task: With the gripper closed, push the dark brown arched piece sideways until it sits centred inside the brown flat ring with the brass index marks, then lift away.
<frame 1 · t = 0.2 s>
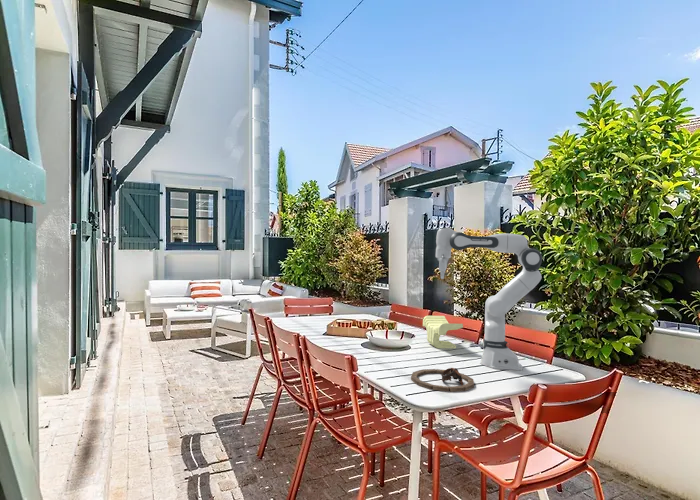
hand: (442, 278, 245), 48 cm above the table, tool pointing down, fingers open, 8 cm apart
ribbed pale green clamp: (440, 346, 280), on the table
brown flat ring: (442, 379, 203), point 1 cm above the table, hinge at 0.0°
dark brown arched piece: (452, 383, 202), on the table
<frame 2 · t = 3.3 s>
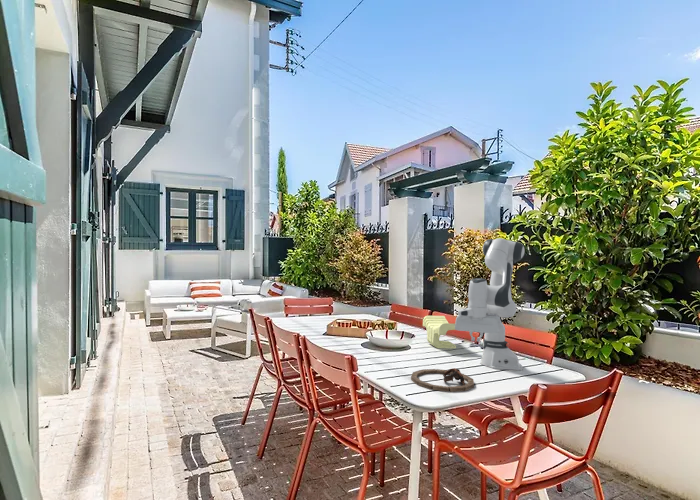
hand: (475, 341, 199), 21 cm above the table, tool pointing down, fingers closed
dark brown arched piece: (454, 383, 201), on the table
everything else where it was.
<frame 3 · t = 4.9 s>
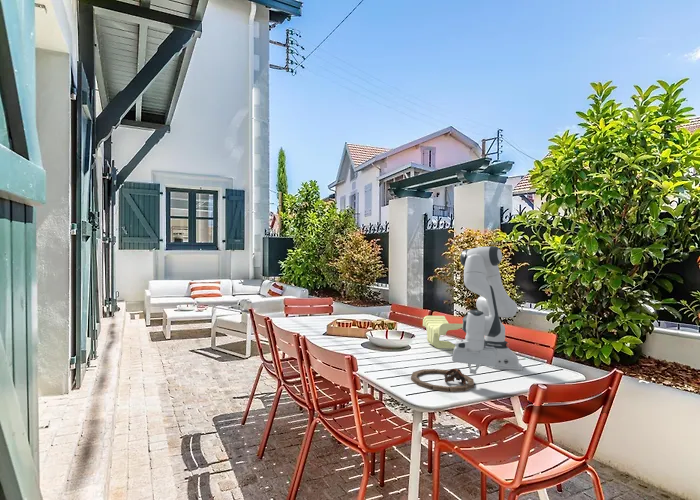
hand: (473, 373, 199), 6 cm above the table, tool pointing down, fingers closed
nothing on the table moved.
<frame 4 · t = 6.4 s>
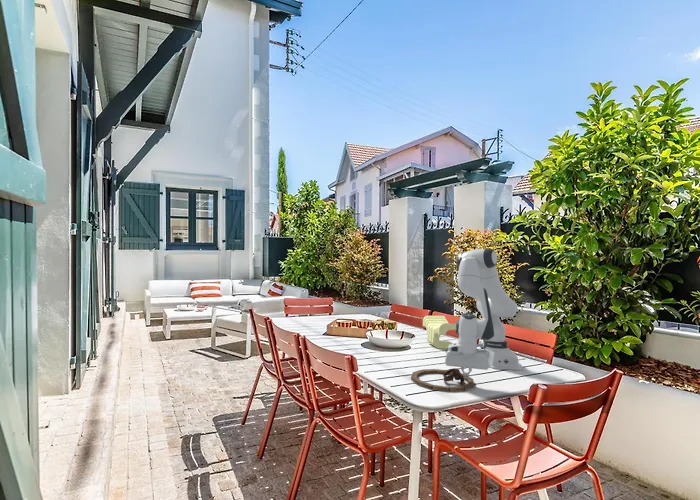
hand: (466, 376, 200), 4 cm above the table, tool pointing down, fingers closed
dark brown arched piece: (454, 384, 200), on the table, touching gripper
everything else where it was.
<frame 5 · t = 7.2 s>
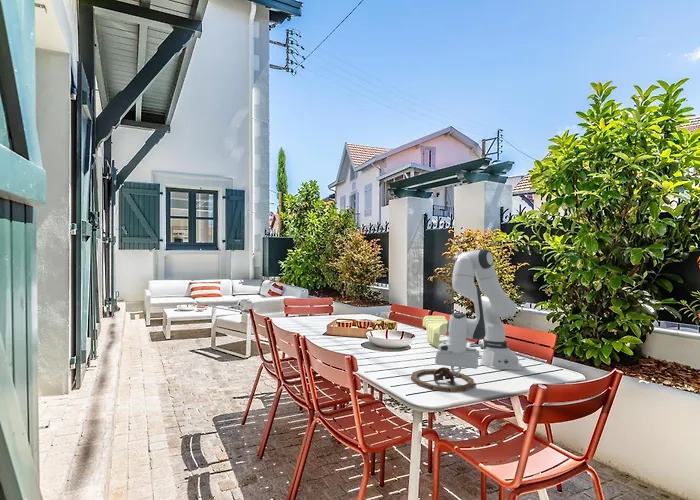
hand: (455, 375, 201), 4 cm above the table, tool pointing down, fingers closed
dark brown arched piece: (444, 382, 201), on the table, touching gripper
everything else where it was.
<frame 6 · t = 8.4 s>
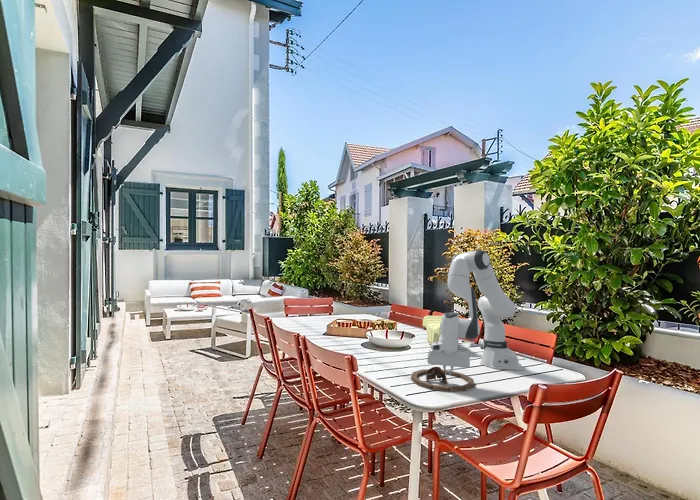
hand: (447, 374, 202), 4 cm above the table, tool pointing down, fingers closed
dark brown arched piece: (436, 382, 202), on the table, touching gripper
everything else where it was.
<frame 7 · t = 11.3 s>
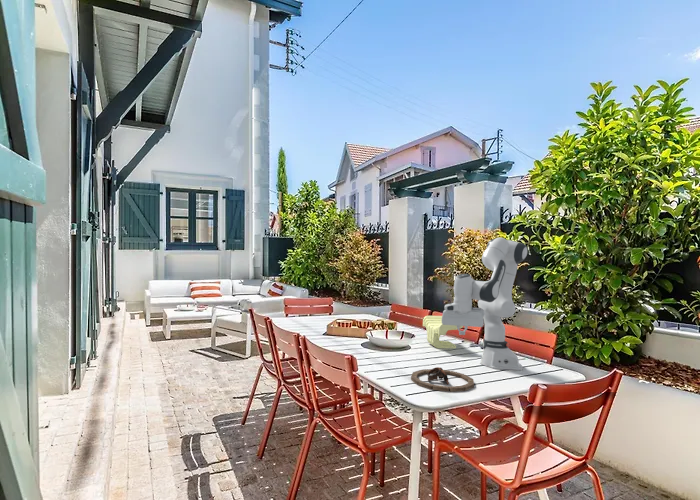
hand: (462, 334, 206), 23 cm above the table, tool pointing down, fingers closed
dark brown arched piece: (438, 382, 202), on the table
everything else where it was.
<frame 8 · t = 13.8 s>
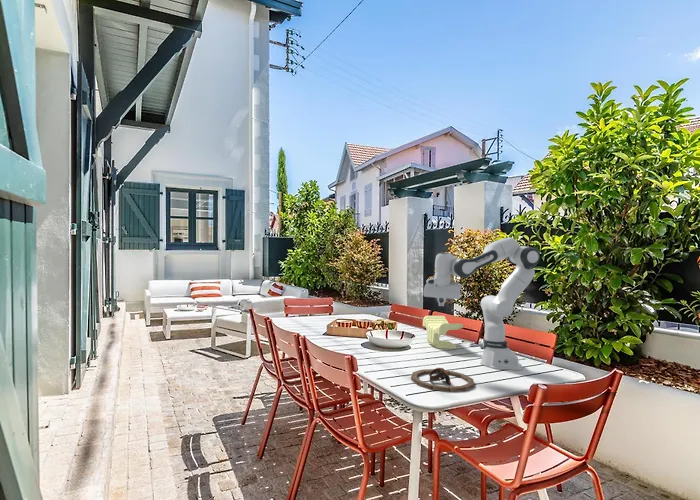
hand: (441, 305, 232), 33 cm above the table, tool pointing down, fingers closed
at the end: dark brown arched piece 2.5 cm from the brown flat ring (horizontally); dark brown arched piece tilted 0°; dark brown arched piece touching table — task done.
